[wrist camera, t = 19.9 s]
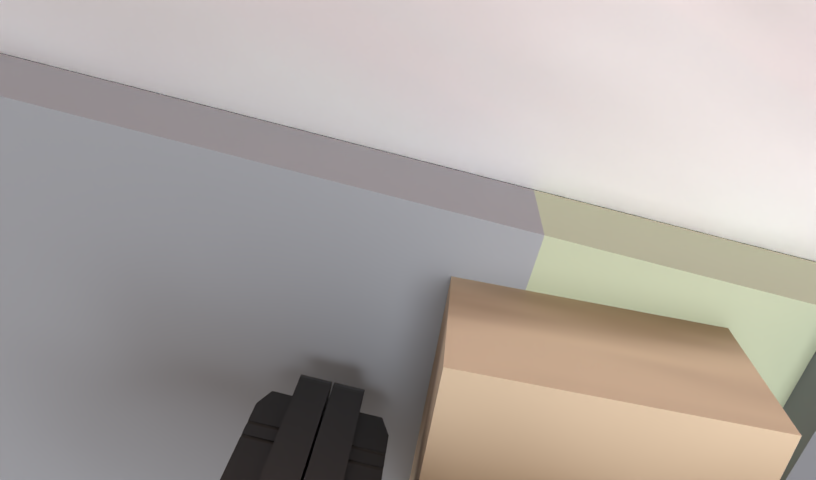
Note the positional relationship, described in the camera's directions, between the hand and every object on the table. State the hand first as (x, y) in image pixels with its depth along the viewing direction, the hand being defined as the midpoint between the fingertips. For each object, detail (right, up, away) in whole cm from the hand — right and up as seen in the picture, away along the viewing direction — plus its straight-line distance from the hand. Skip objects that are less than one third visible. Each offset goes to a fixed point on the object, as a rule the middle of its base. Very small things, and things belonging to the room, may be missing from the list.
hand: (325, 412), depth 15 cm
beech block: (+5, 0, 0) cm, 5 cm away
